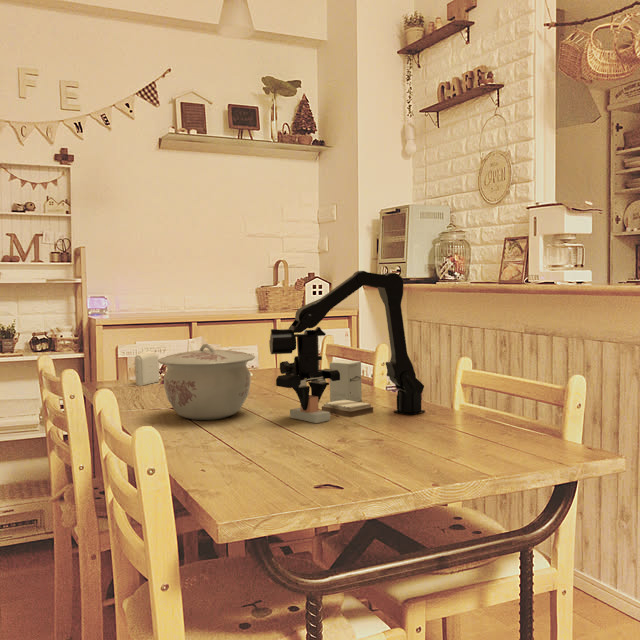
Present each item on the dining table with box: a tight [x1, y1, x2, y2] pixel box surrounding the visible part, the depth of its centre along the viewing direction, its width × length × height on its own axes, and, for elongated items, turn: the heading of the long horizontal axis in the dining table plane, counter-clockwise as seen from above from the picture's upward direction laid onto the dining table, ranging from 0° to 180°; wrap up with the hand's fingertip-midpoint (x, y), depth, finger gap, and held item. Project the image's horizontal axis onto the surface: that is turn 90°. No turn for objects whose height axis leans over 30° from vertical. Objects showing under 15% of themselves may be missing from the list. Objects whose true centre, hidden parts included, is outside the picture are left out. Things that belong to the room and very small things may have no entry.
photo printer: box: [134, 350, 160, 387], centre depth 260 cm, size 10×4×12 cm, turn 152°
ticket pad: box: [321, 400, 374, 418], centre depth 197 cm, size 12×9×2 cm
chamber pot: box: [158, 343, 256, 421], centre depth 196 cm, size 28×28×21 cm
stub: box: [289, 394, 331, 424], centre depth 187 cm, size 11×5×6 cm, turn 42°
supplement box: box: [329, 359, 362, 402], centre depth 213 cm, size 7×7×13 cm
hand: (309, 409), depth 187 cm, fingers closed on stub, 3 cm apart
